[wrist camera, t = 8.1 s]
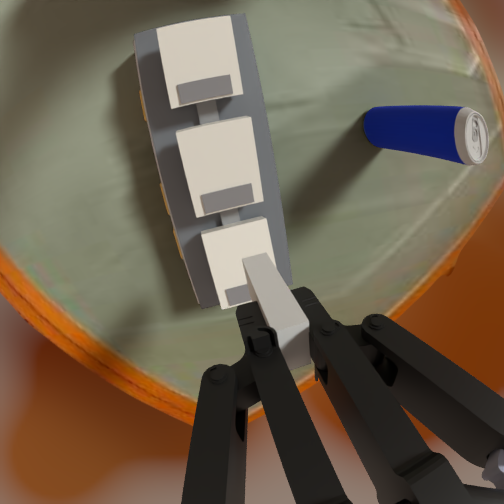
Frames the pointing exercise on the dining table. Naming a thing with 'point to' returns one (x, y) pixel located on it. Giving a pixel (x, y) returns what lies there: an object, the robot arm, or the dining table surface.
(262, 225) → the rocker
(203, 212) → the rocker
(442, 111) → the beverage can
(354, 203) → the dining table surface
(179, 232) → the switch console
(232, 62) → the plate
